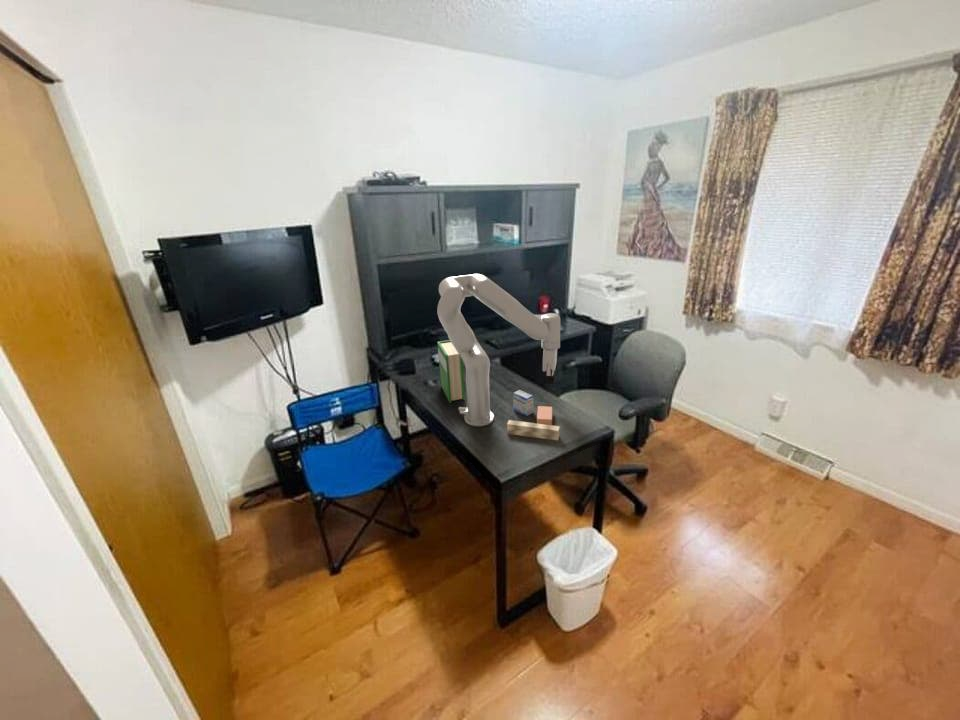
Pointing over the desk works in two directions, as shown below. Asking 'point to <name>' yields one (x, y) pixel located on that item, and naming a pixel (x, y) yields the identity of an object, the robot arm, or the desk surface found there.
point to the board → (533, 430)
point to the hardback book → (451, 371)
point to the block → (544, 415)
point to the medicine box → (523, 402)
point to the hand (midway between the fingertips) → (550, 382)
